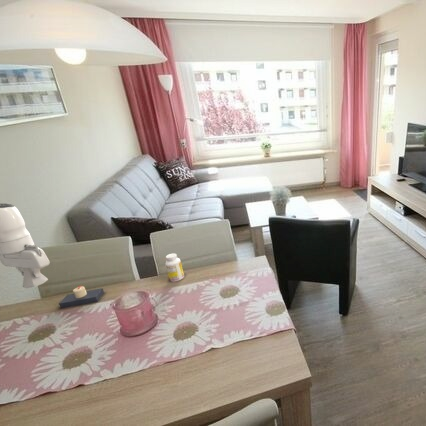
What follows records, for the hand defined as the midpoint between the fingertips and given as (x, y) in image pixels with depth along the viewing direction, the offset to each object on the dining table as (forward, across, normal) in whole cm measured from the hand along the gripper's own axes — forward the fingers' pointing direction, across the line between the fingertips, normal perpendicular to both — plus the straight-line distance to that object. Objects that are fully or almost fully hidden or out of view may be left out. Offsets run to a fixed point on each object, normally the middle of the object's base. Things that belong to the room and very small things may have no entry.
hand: (32, 275), depth 116 cm
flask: (+4, 0, 0) cm, 4 cm away
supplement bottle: (+20, -36, -33) cm, 53 cm away
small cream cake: (+16, -5, -11) cm, 20 cm away
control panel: (+19, -5, -10) cm, 23 cm away
